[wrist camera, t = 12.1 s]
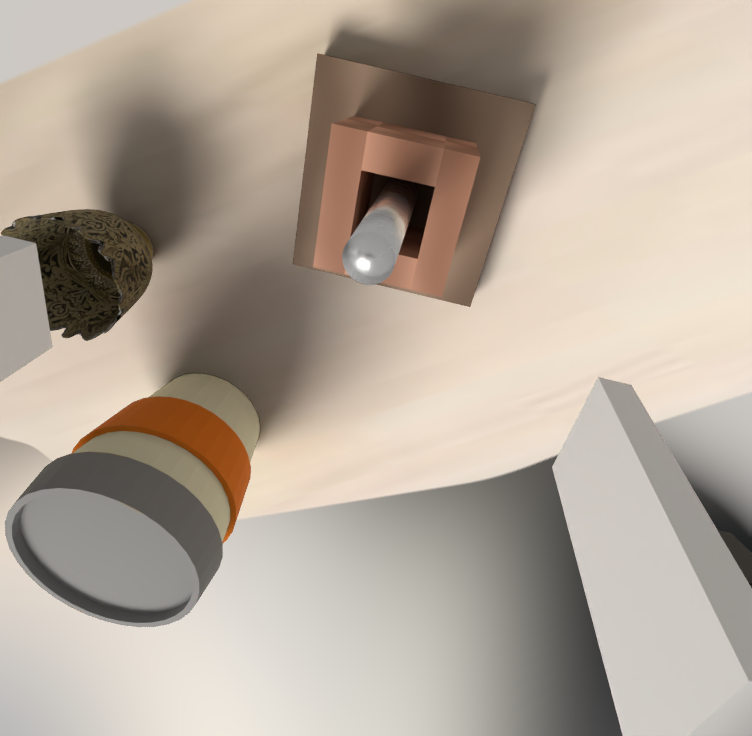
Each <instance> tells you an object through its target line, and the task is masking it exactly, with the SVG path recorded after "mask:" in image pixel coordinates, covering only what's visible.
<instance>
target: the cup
mask: <svg viewBox="0 0 752 736" xmlns="http://www.w3.org/2000/svg"><path fill="white" fill-rule="evenodd" d="M1 235H3V236H8V237H12V238H16V239H21V240H25V241H29V242H33V243H36V246H37V252H38V258H39V265H40V271H41V277H42V284H43V290H44V297H45V303H46V309H47V316H48V322H49V328H50V331H53V330H59V329H62V328H66V329H65V331H64V333H63V334H62V337H63V338H70V337H72V336H74V335H76V334H80V335H81V336H82V338H83V339H84V340H86V341H88V340H91V339H93V338H96V337H97V336H99V335H100V334H102V333H106V332H108V331H109V330H110V329H111V328H112V327H113V325H114V324H115V323H116V322H117V321H118V320H119V319H120V318H121V317H122V316H123V315H124V314H125V313H126V312H127V311H128V310H129V309H130V308H131V307H132V306H133V305H134V304H135V303H136V302H137V301H138V300H139V298H140V297H141V296H142V295H143V293H144V292H145V290H146V288H147V287H148V285H149V282H150V279H151V275H152V258H153V245H152V242H151V240H150V238H149V236H148V235H147V234H146V232H145V231H144V230H143V229H141V228H140V227H139V226H137V225H135V224H133V223H130V222H127V221H125V220H124V219H122V218H120V217H118V216H116V215H114V214H111V213H108V212H105V211H100V210H89V209H85V210H71V211H63V212H57V213H50V214H44V215H38V216H29V217H23V218H20V219H17V220H15V221H14V222H13V224H12V226H10V227H7V228H5V229H4V230H3V231H2V232H1Z"/></svg>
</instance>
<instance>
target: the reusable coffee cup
mask: <svg viewBox="0 0 752 736" xmlns="http://www.w3.org/2000/svg"><path fill="white" fill-rule="evenodd" d="M259 434H260V423H259V417H258V415H257V412H256V410H255V408H254V406H253V405H252V403H251V402H250V400H249V399H248V398H247V397H246V396H245V395H244V393H243V392H241V391H240V390H239V389H238V388H236V387H235V386H234V385H232V384H230V383H229V382H227V381H225V380H223V379H220V378H218V377H215V376H211V375H207V374H196V373H193V374H186V375H182V376H180V377H177V378H175V379H173V380H172V381H171V382H169V383H168V384H166V385H165V386H164V387H162V388H161V389H160V390H158V391H157V392H155V393H154V394H153V395H151V396H150V397H149V398H143V399H140V400H138V401H135V402H133V403H131V404H130V405H128V406H127V407H125V408H124V409H122V410H121V411H120V412H118V413H117V414H115V415H114V416H113V417H111V418H110V419H108V420H107V421H106V422H104V423H103V424H101V425H100V426H99V427H97V428H96V429H94V430H93V431H92V432H90V433H89V434H87V435H86V436H85V437H83V438H82V439H81V440H80V441H79V442H78V443H77V445H76V446H75V447H74V448H73V451H72V454H69V455H66V456H63V457H60V458H57V459H56V460H54V461H53V462H51V463H50V464H48V465H47V466H46V467H45V468H44V469H43V470H42V472H41V473H40V474H39V475H38V476H37V477H36V479H35V480H34V481H33V482H32V483H31V484H30V486H29V487H28V488H27V489H26V490H25V491H24V493H23V494H22V495H21V496H20V497H19V499H18V500H17V501H16V502H15V504H14V505H13V506H12V507H11V509H10V510H9V512H8V515H7V518H6V521H5V531H6V532H5V534H6V538H7V541H8V544H9V548H10V550H11V552H12V553H13V555H14V557H15V559H16V560H17V562H18V563H19V565H20V566H21V567H22V568H23V570H25V572H26V573H27V574H28V575H29V576H30V577H31V578H32V579H33V580H34V581H35V582H36V583H37V584H38V585H39V586H40V587H42V588H43V589H44V590H45V591H47V592H48V593H49V594H51V595H52V596H54V597H55V598H57V599H58V600H60V601H62V602H63V603H65V604H67V605H68V606H70V607H72V608H74V609H76V610H78V611H80V612H83V613H85V614H87V615H89V616H92V617H95V618H98V619H101V620H104V621H107V622H112V623H116V624H120V625H127V626H136V627H155V626H160V625H166V624H170V623H172V622H175V621H177V620H180V619H181V618H183V617H184V616H185V615H187V614H188V613H189V612H190V611H191V610H192V608H193V607H194V606H195V604H196V603H197V601H198V600H199V598H200V597H201V595H202V593H203V592H204V590H205V589H206V587H207V586H208V584H209V583H210V581H211V579H212V578H213V576H214V575H215V573H216V572H217V570H218V568H219V566H220V563H221V560H222V543H224V542H225V541H226V540H227V539H228V537H229V536H230V534H231V533H232V532H233V529H234V525H235V522H236V519H237V516H238V513H239V510H240V507H241V504H242V501H243V498H244V495H245V492H246V489H247V486H248V483H249V480H250V473H251V466H250V461H251V458H252V455H253V452H254V449H255V446H256V443H257V440H258V437H259Z"/></svg>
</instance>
